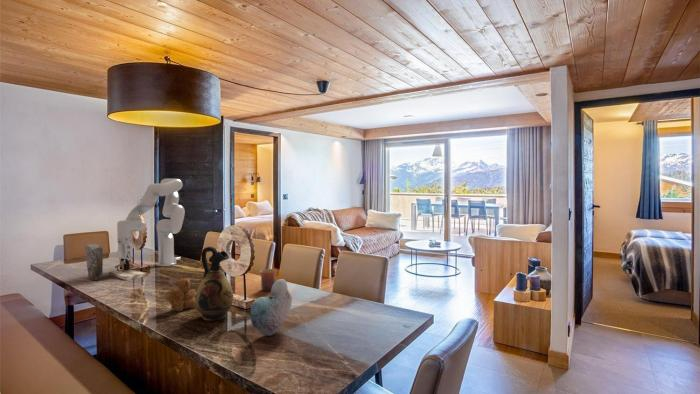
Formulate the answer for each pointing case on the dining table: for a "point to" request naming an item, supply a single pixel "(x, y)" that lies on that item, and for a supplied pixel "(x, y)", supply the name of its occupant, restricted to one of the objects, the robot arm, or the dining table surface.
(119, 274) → the birch board
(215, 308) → the ceramic jug
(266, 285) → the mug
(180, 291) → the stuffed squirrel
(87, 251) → the stone block
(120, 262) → the marking gauge
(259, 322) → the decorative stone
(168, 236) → the robot arm
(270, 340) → the dining table surface
